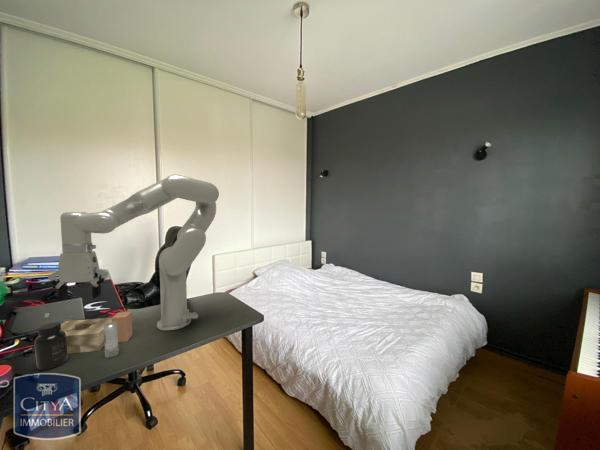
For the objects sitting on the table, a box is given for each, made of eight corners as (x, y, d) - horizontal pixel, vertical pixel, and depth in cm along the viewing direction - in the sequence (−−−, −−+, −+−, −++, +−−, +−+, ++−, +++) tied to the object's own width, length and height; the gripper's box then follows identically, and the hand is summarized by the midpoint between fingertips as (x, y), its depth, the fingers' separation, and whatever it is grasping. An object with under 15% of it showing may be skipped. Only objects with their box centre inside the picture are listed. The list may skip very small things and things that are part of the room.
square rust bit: (132, 334, 94) (131, 311, 93) (127, 341, 90) (126, 316, 89) (119, 336, 93) (117, 312, 92) (112, 342, 89) (111, 317, 88)
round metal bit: (120, 350, 84) (119, 321, 83) (115, 356, 80) (113, 326, 80) (108, 351, 83) (107, 322, 82) (102, 358, 80) (101, 327, 79)
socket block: (117, 332, 95) (116, 317, 95) (99, 350, 84) (98, 333, 83) (67, 336, 92) (66, 320, 91) (41, 356, 80) (40, 338, 80)
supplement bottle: (68, 354, 81) (66, 318, 81) (67, 364, 76) (65, 326, 75) (37, 362, 77) (35, 324, 76) (34, 374, 72) (31, 333, 71)
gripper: (112, 246, 91) (114, 292, 92) (55, 247, 87) (58, 295, 88) (100, 250, 83) (103, 300, 85) (38, 251, 80) (41, 303, 81)
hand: (80, 297), depth 87 cm, fingers open, 9 cm apart
